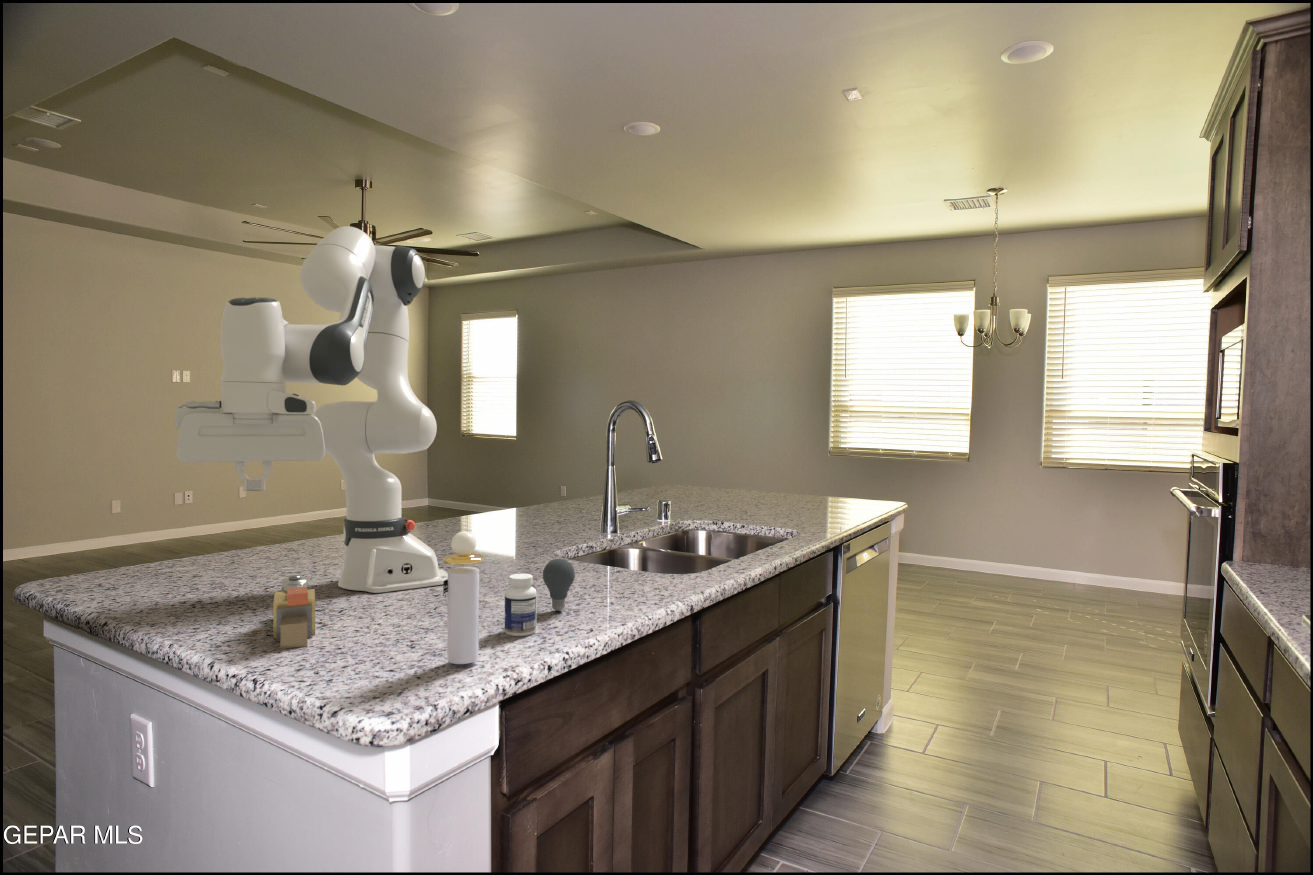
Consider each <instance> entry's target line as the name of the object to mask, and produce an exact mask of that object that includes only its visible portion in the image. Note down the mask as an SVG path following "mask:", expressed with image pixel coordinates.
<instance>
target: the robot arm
mask: <svg viewBox="0 0 1313 875" xmlns="http://www.w3.org/2000/svg"><path fill="white" fill-rule="evenodd" d="M425 276H426V272H425V264H424V262H423V258H422V257H421V255H420V254H419V253H418V251H417V250H416V249H415V248H412V247H409V246H403V245H397V246H391V245H390V246H389V245H375V244H374V242H373V240H372V238H371V237H370V236H369V235H368V234H367V233H366V232H364V231H363V230H361V229H360V228H357V227H355V226H348V225H347V226H345V225H344V226H340V227H337V228H335V229H333V230H331V231H330V232H329V233H328V234H326V235H325V236H324V237H323V238H322V239H320V241H319V242H317V244H316V245H315V246H314V247H313V249H312V250H311V251H310V252H309V253H308V255H307V256H306V257H305V259H304V261H303V263H302V265H301V268H300V273H299V277H300V283H301V287H302V289H303V290H304V292H305V294H306V295H307V297H308V298H309V299H310V300H311V301H312V302H313V303H314V304H316V305H317V306H319V307H321V308H322V309H324V310H326V311H331V312H336V313H339V314H340V315H339V319H338V321H334V322H332V323H326V324H299V323H298V324H296V323H295V324H293V323H290V322H289V321H286V320H285V319H284V317H283V312H282V311H283V310H282V305H281V302H280V300H277V299H275V298H271V297H237V298H235V297H234V298H231V299H230V300H228V301H226V303H225V304H224V307H223V311H222V312H223V313H222V317H221V318H222V319H221V324H220V325H221V326H220V342H219V344H220V357H221V359H222V365H223V369H222V373H221V377H220V400H206V401H197V400H187V401H186V402H185V403H182V404H180V405H178V406H177V407H176V409H175V411H174V425H175V426H176V429H178V434H177V442H176V458H177V459H178V460H179V461H181V462H182V463H230V462H231V463H233V462H234V470H235V471H236V473H237V474H238V476H239V477H240V478H241V480H242V481H243V482H242V484H243V489H242V490H243V492H251V491H252V492H255V491H256V492H260V491H261V492H262V491H263V492H265V491H266V479H268V476H269V474H270V473H271V471H272V469H273V468H274V466H273V465H274V462H294V461H295V462H303V461H304V462H305V461H310V462H311V461H312V462H313V461H321V460H322V459H323V458H324V457H325V456H326V453H327V455H329V456H330V457H331V459H332V460H333V461H334V462H335V464H336V465H337V467H338V469H339V470H340V474H341V476H342V479H343V481H344V482H343V483H344V489H345V505H346V506H345V508H346V513H345V514H346V518H345V519H343V520H344V522H343V543H344V557H343V563H342V567H341V568H342V569H341V572H340V575H339V576H340V577H339V580H338V583H337V586H338V587H339V588H342V589H345V590H350V591H362V592H368V593H371V594H372V593H373V594H379V593H388V592H395V591H401V590H410V589H411V590H412V589H417V588H425V587H433V586H439V585H441V586H443V582H444V581H445V580H447V579H448V571H446V570H444V569H442V568H439V563H438V558H437V554H436V553H435V551H434V550H433V548H431V546H429V545H427V544H426V543H425V542H423V541H422V540H420V539H419V538H418V537H416V536H415V535H413V534H412V531H414V530H415V529H416V527H417V526H416V523H415V522H414V521H413V520H411V519H409V518H406V517H405V516H402V501H403V499H402V492H403V491H402V484H401V481H400V479H399V478H398V477H397V476H396V475H395V474H393V473H392V472H390V471H389V470H387V469H385V468H382V467H381V466H380V465H379V464H378V461H376V458H375V457H376V456H375V454H409V453H415V452H420V451H421V452H422V451H425V450H427V449H428V448H429V447H430V446H431V445H432V444H433V442H434V441H435V439H436V435H437V430H438V429H437V428H438V427H437V426H438V424H437V421H436V418H435V415H434V413H433V412H432V410H431V409H430V408H429V407H428V406H427V405H425V403H423V402H422V401H420V399H419V398H418V397H417V395H416V394H415V393H414V391H413V389H412V387H411V386H412V385H411V384H410V380H409V373H408V372H409V366H408V365H409V362H408V361H409V348H410V347H409V345H410V318H409V309H408V306H409V305H410V304H412V303H413V301H414V298H416V297H417V296H419V294H420V292H421V291H422V289H423V287H424V285H425V279H426V277H425ZM355 379H358V381H360V382H361V383H363V384H364V385H366V386H367V387H369V388H372V389H373V390H375V391H376V394H377V399H376V400H375V401H374V400H373V401H355V400H353V401H350V400H349V401H347V400H343V401H336V402H330V403H324V404H321V405H320V406H318V408H317V403H316V402H315V401H314V400H313V399H309V398H307V397H303V396H300V395H299V394H296V393H289V392H287V390H286V383H300V384H301V383H304V384H305V383H307V384H308V383H309V384H310V383H311V384H324V385H334V386H347V385H349V384H350V383H351V382H353V381H355ZM185 407H186V408H185ZM247 462H261V463H262V464H261V465H262V466H261V468H262V469H265V470H264V471H263V473H262V474H261V476H260V478H250V477H249V476H248V475H247V473H246V471H245V470H244V469H246V468H247Z"/></svg>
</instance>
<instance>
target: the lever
mask: <svg viewBox="0 0 1313 875" xmlns="http://www.w3.org/2000/svg"><path fill="white" fill-rule="evenodd" d="M308 581H309V579H308V577H306V576H305V577H304V576H301V575H300V574H293V575H292V574H291V575H289V576H288V577H287V578H283V579H281V592H283V593H287V602H288V606H293V605H303V604H308V591H307V590H308V589H309V588H308V587H309V585H308V584H309V582H308Z"/></svg>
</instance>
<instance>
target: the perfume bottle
mask: <svg viewBox="0 0 1313 875" xmlns="http://www.w3.org/2000/svg"><path fill="white" fill-rule="evenodd" d="M450 542H451V544H450V545H451V549H452V551H453V554H452V553H451V554H448V555H445V556H443V563H445V564H448V565H452V566H455V565H457V566H459V567H453V568H450V569H448V570H447V573H448V579H447V580H445V581H444V582H443V584H442V586H443V593H442V595H443V601H444V600H445V599H444V598H447V619H446V621H447V626H446V628H447V632H446V633H447V634H446V636H447V638H446V640H447V644H446V645H447V646H446V647H447V649H446V651H447V653H446V654H447V657H446V658H447V662H448V663H450V664H455V665H464V664H471V663H473V662H474V663H475V662H476V661H478V659H479V654H480V653H479V646H480V645H479V640H480V638H479V635H480V634H479V633H480V632H479V628H480V625H479V624H480V623H479V622H480V621H479V620H480V619H479V618H480V617H479V616H480V600H479V599H480V569H479V568H477V567H473V566H466V565H476V564H479V563H482V562H484V555H482V554H479V553H474V552H475V550H476V547H477V539H476V537H475V536H474V535H473V533H471V532H470V531H467V530H466V531H459V532H457V533H456V534H455V535H453V537H452V539H451V541H450ZM463 565H465V566H463ZM446 593H447V594H446ZM446 595H447V596H446Z"/></svg>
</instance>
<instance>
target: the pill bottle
mask: <svg viewBox="0 0 1313 875" xmlns="http://www.w3.org/2000/svg"><path fill="white" fill-rule="evenodd" d="M533 578H534V577H533V575H532V574H530V573H513V574H511V575H509V577H508V583H509V586H510V587H507V588H506V590H505V592H504V632H505V634H506V635H508V636H511V637H525V636H526V637H527V636H531V635H534V634H535V633H536V631H537V602H538V601H537V597H538V596H537V594H538V593H537V590H536V588H535V587H533V586H532V585H533V583H534V581H533V580H534V579H533Z"/></svg>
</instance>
